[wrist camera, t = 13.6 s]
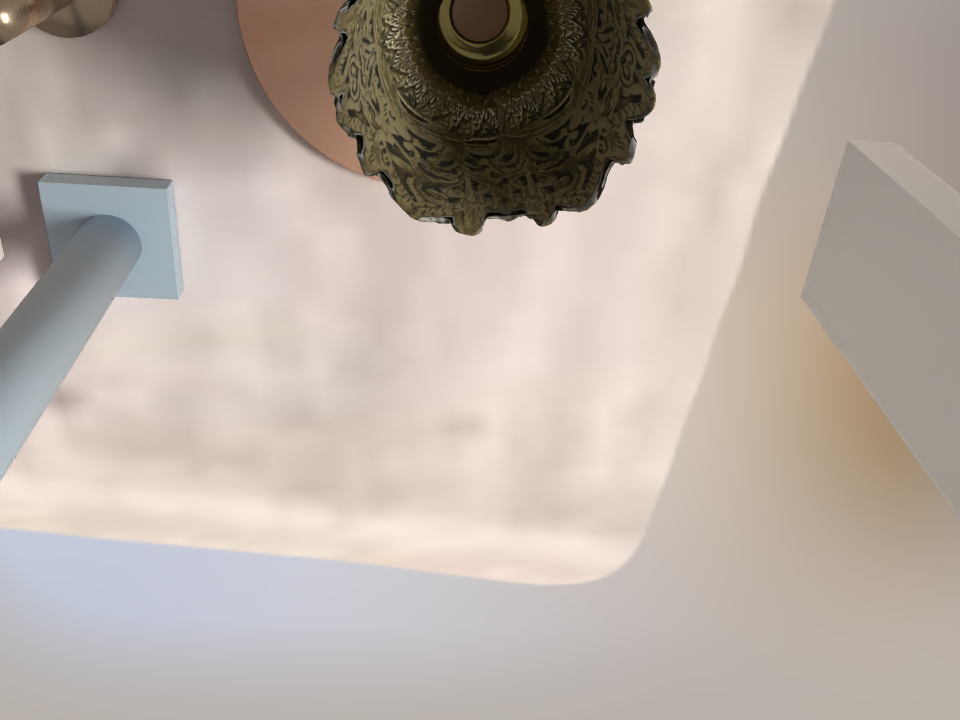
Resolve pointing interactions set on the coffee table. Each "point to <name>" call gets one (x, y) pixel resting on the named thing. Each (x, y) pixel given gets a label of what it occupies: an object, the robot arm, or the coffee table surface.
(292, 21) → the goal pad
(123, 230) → the gate
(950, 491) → the robot arm
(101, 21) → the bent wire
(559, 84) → the ornate lamp shade
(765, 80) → the coffee table surface
